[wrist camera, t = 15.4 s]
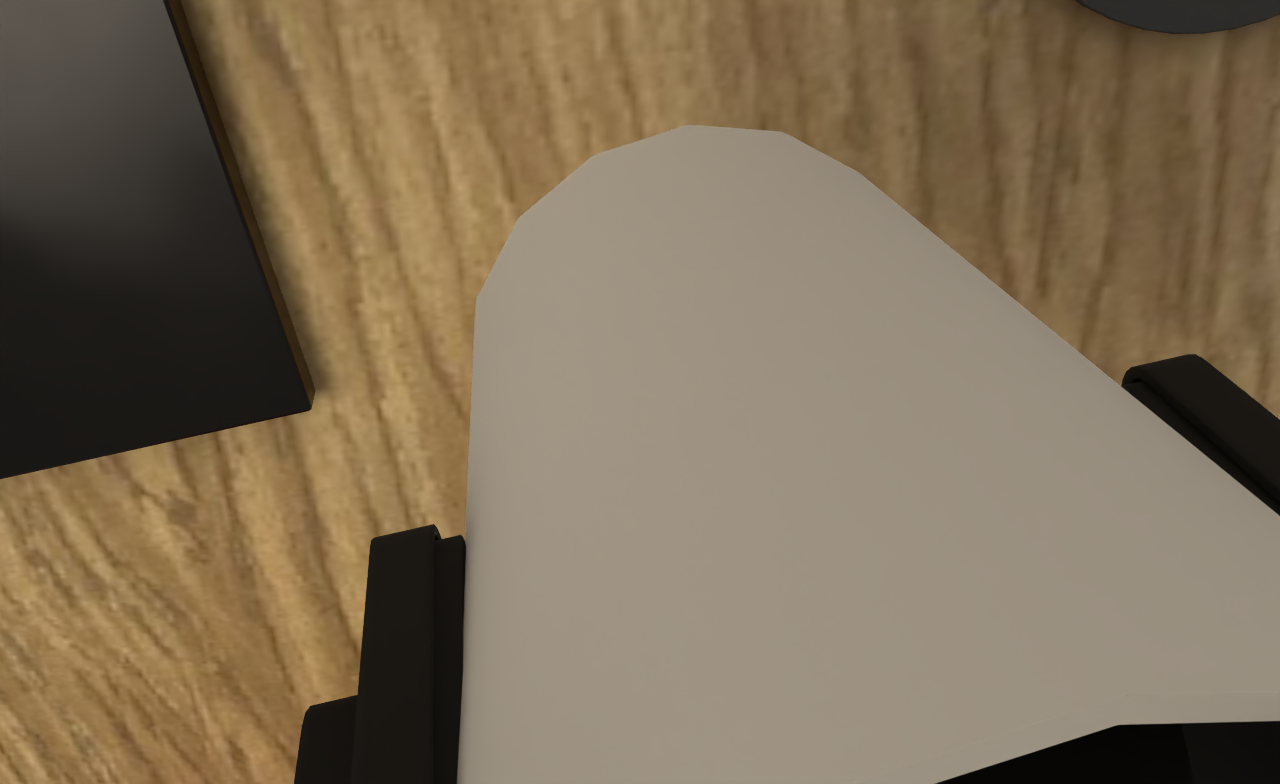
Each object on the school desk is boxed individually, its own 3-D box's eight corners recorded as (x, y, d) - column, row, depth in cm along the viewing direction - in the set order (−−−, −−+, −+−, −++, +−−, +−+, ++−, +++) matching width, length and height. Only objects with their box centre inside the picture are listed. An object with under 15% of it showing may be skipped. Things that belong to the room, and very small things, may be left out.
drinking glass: (386, 122, 13) (287, 840, 5) (970, 52, 14) (1871, 568, 5) (475, 603, 16) (517, 1567, 8) (948, 529, 17) (1479, 1346, 8)
